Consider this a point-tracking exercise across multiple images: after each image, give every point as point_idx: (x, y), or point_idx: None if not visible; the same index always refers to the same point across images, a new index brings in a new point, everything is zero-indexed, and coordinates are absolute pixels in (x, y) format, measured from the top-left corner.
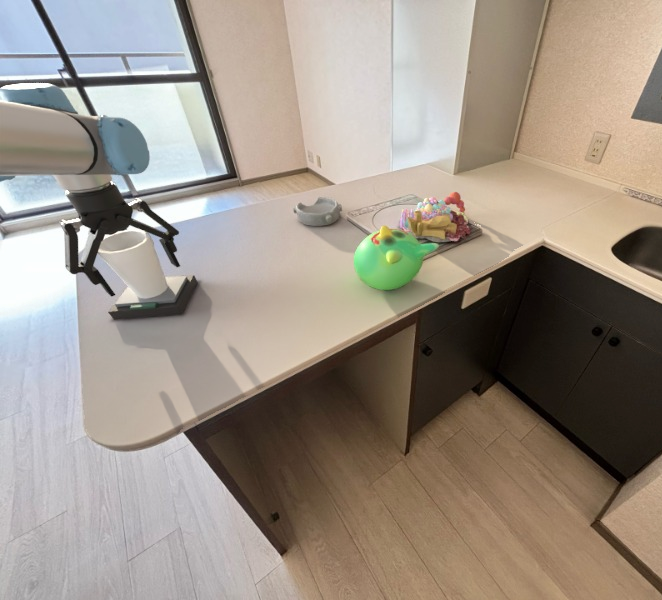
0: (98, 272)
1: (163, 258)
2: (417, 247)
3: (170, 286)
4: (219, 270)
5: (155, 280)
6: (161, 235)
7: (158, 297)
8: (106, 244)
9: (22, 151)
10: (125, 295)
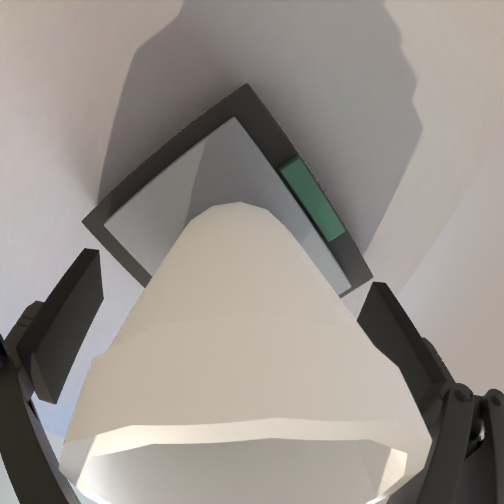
0: (431, 370)
1: None
2: None
3: (181, 215)
4: (22, 208)
5: (229, 224)
6: (7, 402)
7: (255, 189)
8: (290, 501)
9: None
10: None
